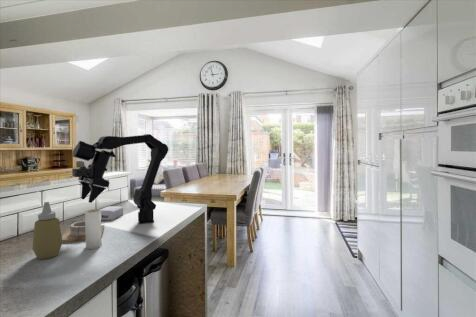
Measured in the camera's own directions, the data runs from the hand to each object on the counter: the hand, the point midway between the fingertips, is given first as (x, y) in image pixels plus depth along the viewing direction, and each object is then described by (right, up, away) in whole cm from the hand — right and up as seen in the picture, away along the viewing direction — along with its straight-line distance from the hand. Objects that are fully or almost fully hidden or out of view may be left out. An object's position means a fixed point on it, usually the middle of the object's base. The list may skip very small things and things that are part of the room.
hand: (86, 200), depth 104 cm
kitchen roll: (+9, -15, -11) cm, 21 cm away
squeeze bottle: (-1, -15, -19) cm, 25 cm away
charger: (-3, -13, +30) cm, 33 cm away
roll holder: (-1, -14, 0) cm, 14 cm away
